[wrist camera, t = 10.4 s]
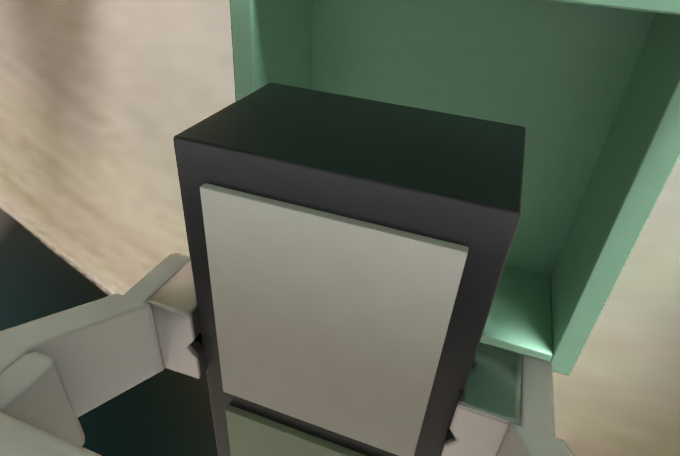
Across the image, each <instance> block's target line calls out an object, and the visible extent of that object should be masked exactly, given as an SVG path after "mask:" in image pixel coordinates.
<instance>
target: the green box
mask: <svg viewBox="0 0 680 456" xmlns="http://www.w3.org/2000/svg"><path fill="white" fill-rule="evenodd" d="M230 13H231V30H232V46H233V63H234V80H235V97H236V101H238V100H240V99H242V98H243V97H245V96H247V95H249V94H251V93H252V92H254V91H256V90H258V89H259V88H261V87H263V86H265V85H267V84H268V83H277V84H283V85H289V86H294V87H300V88H306V89H311V90H317V91H323V92H329V93H334V94H340V95H346V96H352V97H357V98H363V99H369V100H374V101H380V102H386V103H392V104H397V105H403V106H409V107H414V108H420V109H426V110H432V111H437V112H443V113H449V114H454V115H460V116H466V117H472V118H477V119H483V120H489V121H494V122H500V123H506V124H512V125H517V126H523V127H525V128H526V140H525V157H524V174H523V191H522V209H521V217H520V220H519V223H518V226H517V229H516V232H515V235H514V238H513V241H512V244H511V247H510V251H509V254H508V257H507V260H506V263H505V266H504V269H503V272H502V275H501V278H500V281H499V284H498V288H497V291H496V294H495V297H494V300H493V303H492V306H491V309H490V312H489V315H488V318H487V321H486V324H485V328H484V331H483V334H482V337H481V340H480V342H482V343H485V344H489V345H493V346H496V347H500V348H503V349H507V350H510V351H514V352H517V353H520V354H525V355H529V356H532V357H536V358H540V359H543V360H547V361H550V363H551V365H552V371H554V372H557V373H561V374H564V375H568V376H569V375H570V373H571V371H572V369H573V367H574V365H575V363H576V361H577V359H578V357H579V355H580V353H581V351H582V349H583V347H584V345H585V343H586V341H587V339H588V337H589V335H590V333H591V331H592V329H593V327H594V325H595V323H596V321H597V319H598V317H599V315H600V313H601V311H602V309H603V307H604V305H605V303H606V301H607V299H608V297H609V295H610V293H611V291H612V289H613V287H614V285H615V283H616V281H617V279H618V277H619V275H620V273H621V271H622V269H623V267H624V265H625V263H626V261H627V259H628V257H629V255H630V253H631V251H632V249H633V247H634V245H635V243H636V241H637V239H638V237H639V235H640V233H641V231H642V229H643V227H644V225H645V223H646V221H647V219H648V217H649V215H650V213H651V211H652V209H653V207H654V205H655V203H656V201H657V199H658V197H659V195H660V193H661V191H662V189H663V187H664V185H665V183H666V181H667V179H668V177H669V175H670V173H671V171H672V169H673V167H674V165H675V163H676V161H677V159H678V157H679V155H680V0H230Z"/></svg>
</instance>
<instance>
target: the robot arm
mask: <svg viewBox="0 0 680 456" xmlns="http://www.w3.org/2000/svg"><path fill="white" fill-rule="evenodd" d="M201 331H202V328H201V321H200V315H199V308H198V306H197V302H196V295H195V288H194V281H193V274H192V267H191V260H190V257H188V256H185V255H182V254H179V253H175V254H171V255H169V256H168V257H167V258H166V259H164V260H163V261H162V262H161V263H160V264H159V265H158V266H156V267H155V268H154V269H153V270H152V271H151V272H149V273H148V274H147V275H146V276H145V277H144V278H143V279H141V280H140V281H139V282H138V283H137V284H136V285H134V286H133V287H132V288H131V289H130V290H129V291H128V292H126V293H125V294H124V295H120V294H114V295H111V296H108V297H105V298H102V299H99V300H96V301H93V302H90V303H87V304H83V305H80V306H77V307H74V308H71V309H68V310H65V311H62V312H59V313H56V314H53V315H50V316H46V317H43V318H40V319H37V320H34V321H31V322H28V323H24V324H21V325H18V326H15V327H12V328H9V329H6V330H3V331H0V456H102V455H99V454H97V453H95V452H92V451H90V450H88V449H86V448H83V447H81V446H82V445H83V444H84V443H85V442H84V441H85V435H84V433H83V431H82V428H81V426H80V423H79V421H78V417H79V416H81V415H82V414H85V413H86V412H88V411H90V410H92V409H94V408H96V407H97V406H99V405H101V404H103V403H104V402H106V401H108V400H110V399H112V398H114V397H115V396H117V395H119V394H121V393H122V392H125V391H126V390H128V389H130V388H132V387H134V386H135V385H137V384H139V383H141V382H143V381H144V380H146V379H148V378H150V377H152V376H153V375H155V374H157V373H159V372H161V371H162V370H164V367H165V368H168V369H171V370H174V371H177V372H180V373H183V374H186V375H189V376H192V377H195V378H198V379H199V378H200V377H201V376H202V374H203V373H204V372H205V371H206V369H207V365H206V357H205V350H204V346H203V344H202V338H201ZM440 456H574V454H573V453H572V451H571V450H570V448H569V447H568V445H567V444H566V442H565V441H564V440H562V439H559V438H556V437H555V422H554V396H553V371H552V365H551V363H550V361H547V360H543V359H540V358H536V357H532V356H529V355H525V354H520V353H517V352H514V351H510V350H507V349H503V348H500V347H496V346H493V345H489V344H485V343H482V342H480V343H479V346H478V349H477V352H476V355H475V358H474V361H473V365H472V368H471V371H470V374H469V377H468V380H467V383H466V386H465V389H464V390H460V392H459V395H458V398H457V401H456V404H455V407H454V410H453V413H452V418H451V424H450V429H449V430H447V432H446V436H445V439H444V442H443V446H442V449H441V453H440Z"/></svg>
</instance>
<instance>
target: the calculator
mask: <svg viewBox="0 0 680 456" xmlns="http://www.w3.org/2000/svg"><path fill="white" fill-rule="evenodd" d="M173 140H174V147H175V154H176V161H177V168H178V175H179V182H180V189H181V196H182V203H183V210H184V218H185V225H186V232H187V239H188V246H189V253H190V260H191V267H192V274H193V281H194V288H195V295H196V302H197V306H198V308H199V315H200V321H201V328H202V331H201V338H202V344H203V346H204V350H205V357H206V365H207V369H206V373H207V380H208V387H209V394H210V402H211V408H212V416H213V423H214V430H215V437H216V444H217V451H218V456H440V453H441V449H442V446H443V442H444V439H445V436H446V432H447V430H449V429H450V424H451V418H452V413H453V410H454V407H455V404H456V401H457V398H458V395H459V392H460V390H464V389H465V386H466V383H467V380H468V377H469V374H470V371H471V368H472V365H473V361H474V358H475V355H476V352H477V349H478V346H479V343H480V340H481V337H482V334H483V331H484V328H485V324H486V321H487V318H488V315H489V312H490V309H491V306H492V303H493V300H494V297H495V294H496V291H497V288H498V284H499V281H500V278H501V275H502V272H503V269H504V266H505V263H506V260H507V257H508V254H509V251H510V247H511V244H512V241H513V238H514V235H515V232H516V229H517V226H518V223H519V220H520V217H521V209H522V191H523V174H524V157H525V140H526V128H525V127H523V126H517V125H512V124H506V123H500V122H494V121H489V120H483V119H477V118H472V117H466V116H460V115H454V114H449V113H443V112H437V111H432V110H426V109H420V108H414V107H409V106H403V105H397V104H392V103H386V102H380V101H374V100H369V99H363V98H357V97H352V96H346V95H340V94H334V93H329V92H323V91H317V90H311V89H306V88H300V87H294V86H289V85H283V84H277V83H268V84H267V85H265V86H263V87H261V88H259V89H258V90H256V91H254V92H252V93H251V94H249V95H247V96H245V97H243V98H242V99H240V100H238V101H236V102H235V103H233V104H231V105H229V106H227V107H226V108H224V109H222V110H220V111H219V112H217V113H215V114H213V115H211V116H210V117H208V118H206V119H204V120H203V121H201V122H199V123H197V124H195V125H194V126H192V127H190V128H188V129H187V130H185V131H183V132H181V133H179V134H178V135H176V136H174V139H173Z"/></svg>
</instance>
